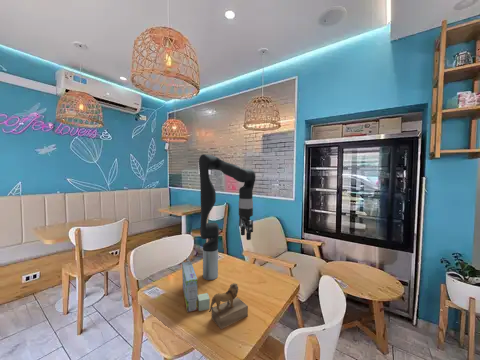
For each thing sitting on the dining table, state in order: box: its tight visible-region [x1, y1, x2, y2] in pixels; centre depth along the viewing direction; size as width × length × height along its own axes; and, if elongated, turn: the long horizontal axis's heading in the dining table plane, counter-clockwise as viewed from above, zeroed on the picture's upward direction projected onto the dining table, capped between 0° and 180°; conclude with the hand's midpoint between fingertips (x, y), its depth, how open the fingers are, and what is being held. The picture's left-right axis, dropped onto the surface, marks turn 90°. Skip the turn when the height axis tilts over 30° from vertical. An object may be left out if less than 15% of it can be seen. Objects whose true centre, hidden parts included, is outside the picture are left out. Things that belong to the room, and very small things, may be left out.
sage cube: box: [198, 292, 211, 312], centre depth 100 cm, size 5×5×5 cm
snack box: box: [181, 261, 199, 313], centre depth 106 cm, size 21×6×15 cm, turn 21°
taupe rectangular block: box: [211, 296, 249, 330], centre depth 93 cm, size 8×14×5 cm, turn 126°
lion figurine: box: [208, 282, 239, 313], centre depth 92 cm, size 15×5×9 cm, turn 127°
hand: (245, 237), depth 111 cm, fingers open, 8 cm apart
